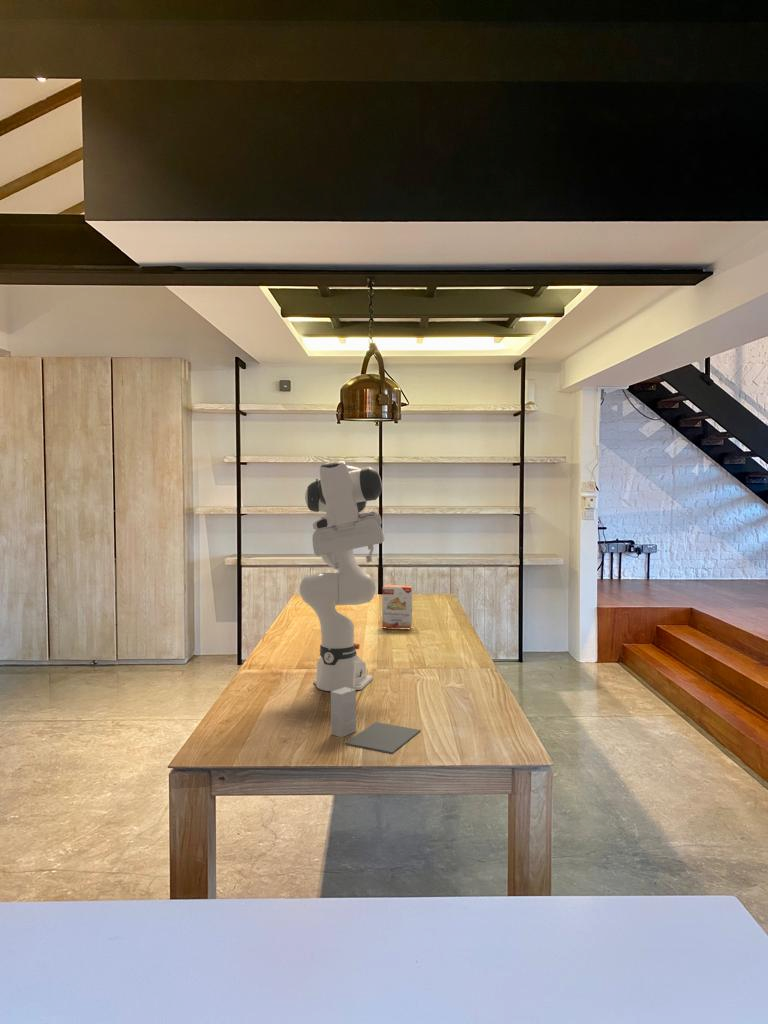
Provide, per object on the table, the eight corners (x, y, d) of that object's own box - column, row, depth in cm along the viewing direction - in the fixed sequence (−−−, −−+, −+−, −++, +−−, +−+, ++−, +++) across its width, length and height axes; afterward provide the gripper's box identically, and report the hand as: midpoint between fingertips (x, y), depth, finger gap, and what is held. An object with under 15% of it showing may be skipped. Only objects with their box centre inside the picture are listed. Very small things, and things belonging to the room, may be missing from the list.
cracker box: (381, 629, 327) (382, 586, 327) (384, 626, 333) (384, 584, 332) (410, 630, 325) (411, 587, 324) (412, 628, 331) (412, 585, 330)
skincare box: (345, 728, 191) (345, 686, 191) (356, 731, 188) (356, 689, 188) (330, 734, 186) (330, 691, 186) (341, 738, 184) (341, 694, 183)
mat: (375, 723, 195) (375, 722, 195) (420, 731, 189) (420, 729, 189) (344, 744, 179) (344, 742, 179) (392, 753, 173) (392, 752, 173)
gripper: (380, 509, 194) (389, 556, 194) (310, 524, 195) (320, 570, 195) (378, 510, 188) (388, 559, 188) (307, 525, 189) (317, 573, 189)
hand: (353, 565), depth 192 cm, fingers open, 8 cm apart
